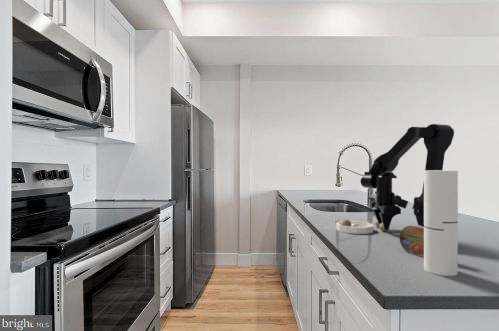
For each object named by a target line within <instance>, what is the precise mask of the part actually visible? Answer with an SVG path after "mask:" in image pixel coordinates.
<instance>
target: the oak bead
mask: <svg viewBox="0 0 499 331" xmlns="http://www.w3.org/2000/svg"><path fill="white" fill-rule="evenodd" d="M379 230H380V231H381V232H384V233H386V232H388V231H389V230H385V229H384V226H383V223H381V224H380V225H379Z"/></svg>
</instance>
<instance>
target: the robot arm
mask: <svg viewBox="0 0 499 331" xmlns="http://www.w3.org/2000/svg"><path fill="white" fill-rule="evenodd" d="M454 136H455V130H454V128H452V126H451V125H449V124H439V123H432V124H429V125H427V126H422V127H421V126H411V127H409V128H408V129H407V131H406V133H404V134H403V135H402V136H401V137H400V138H399V139H398V141H396V143H394V145H393V146H392V147H391V148H390V149H389V150H388V151H387V152H385V153H383V154H381V155H379V156H377V157H376V158H375V159H374V161H373V164H372V166H371V167H370V169H369V170H368V171H364V174H363V175H362V176H361V178H360V184H361V186H362V187H363V188H367V189H376V191H374V194H375V196H376V200H371V201H370V202H369V208H370V209H371V210H372V211H373V214H374V216H375V218H376V219H377V221H378V223H379V225H380V224H381V223H383V226H384V229H385V230H388V231H389V230H390V226H391V223H392V220H393V218H394V217H396V216H397V215H401V214H402V209H404V210H405V209H407V207H408V204H409V201H408V200H405V199H403V198H402V196H400V195H398V194H395V192H393V179H398V178H397V175H396V174H395V173H394V171H395V170H396V168H397V166H398V165H399V160H400V159H401V158H402V157H403V156H404V155H405V154H406V153H407V152H408V151H409V150H410V149H412V147H414V145H415V144H417V143H418V142H419V141H420V140H421V139H423V143H424V146H425V148H426V151H427V152H426V160H425V168H424V170H443V169H444V160H445V155H446V152H447V150H448V148H450V146H451V144H452V142H453V140H454ZM421 191H422V192H421V194H420V196H415V197H414V198H413V205H412V209H413V215H414V216H415V219H416V222H417V226H418V227H423V228H424V181H423V183H422V190H421ZM376 219H375V220H376Z"/></svg>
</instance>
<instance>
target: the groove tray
mask: <svg viewBox="0 0 499 331" xmlns="http://www.w3.org/2000/svg"><path fill="white" fill-rule="evenodd" d="M343 221H344V220H342V221H337V222H336V223H335V230H336V231H338V232H341V233H345V234H353V235H369V234H373V233H374V224H372V223H370V222H366V221H358V220H349V221H350V222H351V227H349V226H343V225H342V222H343Z"/></svg>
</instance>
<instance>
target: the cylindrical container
mask: <svg viewBox="0 0 499 331" xmlns="http://www.w3.org/2000/svg"><path fill="white" fill-rule="evenodd" d="M458 173H459V172H458V170H445V169H444V170H425V169H424V170H423V182H424V227H423V228H424V258H423V269H424V271H425V272H428V273H431V274H435V275H439V276H443V277H453V276H457V275H458V272H459V271H458V269H459V268H458V266H459V265H458V264H459V262H458V260H459V256H458V255H459V252H458V249H459V248H458V246H459V242H458V240H459V236H458V235H459V234H458V233H459V232H458V228H459V226H458V224H459V222H458V220H459V218H458V214H459V213H458V212H459V210H458V209H459V208H458V207H459V206H458V204H459V203H458V202H459V201H458V200H459V198H458V197H459V194H458V193H459V192H458V191H459V190H458V189H459V188H458V186H459V180H458V179H459V178H458V176H459V174H458Z"/></svg>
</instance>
